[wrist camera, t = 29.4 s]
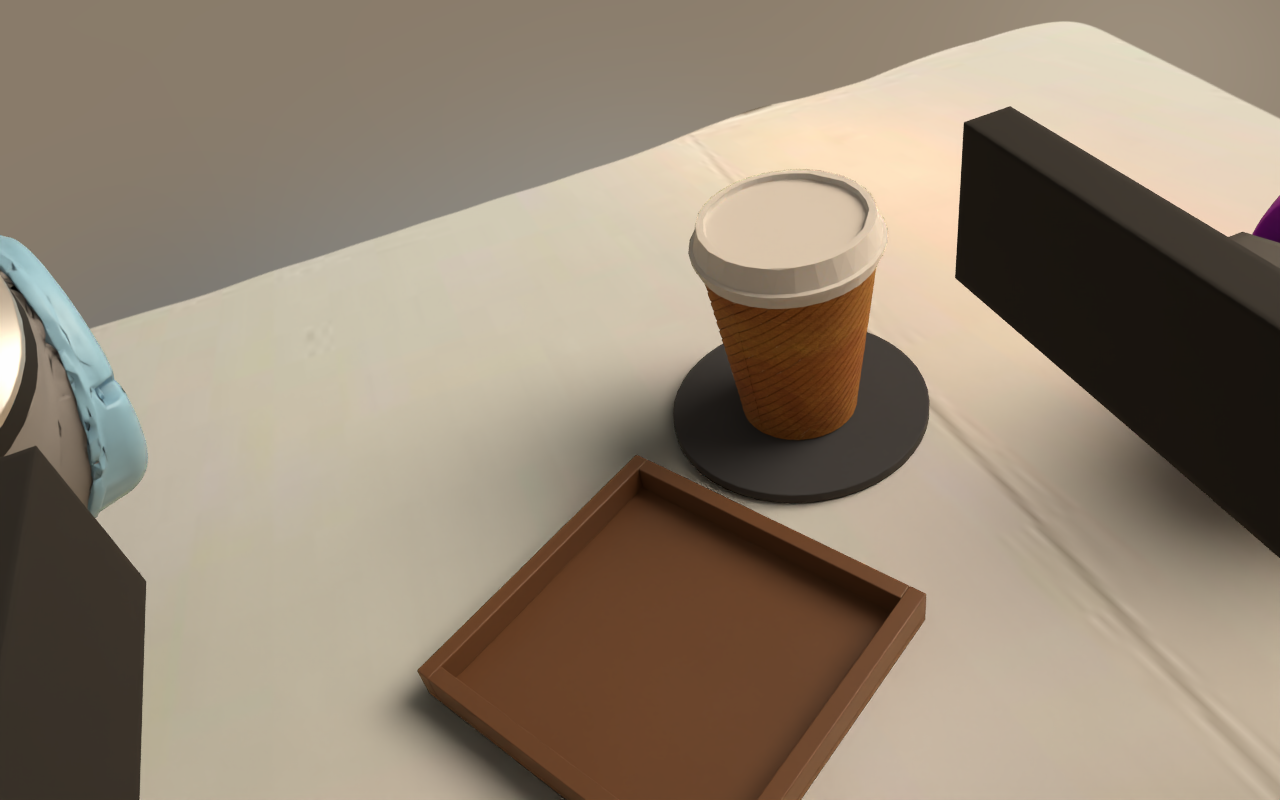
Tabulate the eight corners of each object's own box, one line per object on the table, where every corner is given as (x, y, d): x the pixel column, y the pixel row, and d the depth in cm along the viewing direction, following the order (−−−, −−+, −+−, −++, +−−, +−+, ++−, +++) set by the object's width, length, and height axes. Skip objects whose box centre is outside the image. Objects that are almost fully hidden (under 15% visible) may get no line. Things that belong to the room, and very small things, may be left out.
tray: (429, 693, 46) (416, 670, 44) (642, 478, 53) (636, 453, 52) (718, 919, 36) (712, 898, 35) (925, 619, 44) (926, 593, 43)
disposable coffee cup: (694, 452, 53) (660, 270, 45) (736, 340, 60) (713, 162, 52) (874, 473, 50) (872, 280, 42) (898, 351, 57) (900, 164, 49)
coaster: (624, 440, 56) (622, 433, 55) (765, 304, 63) (764, 297, 62) (841, 544, 48) (841, 536, 48) (975, 376, 55) (975, 367, 55)
